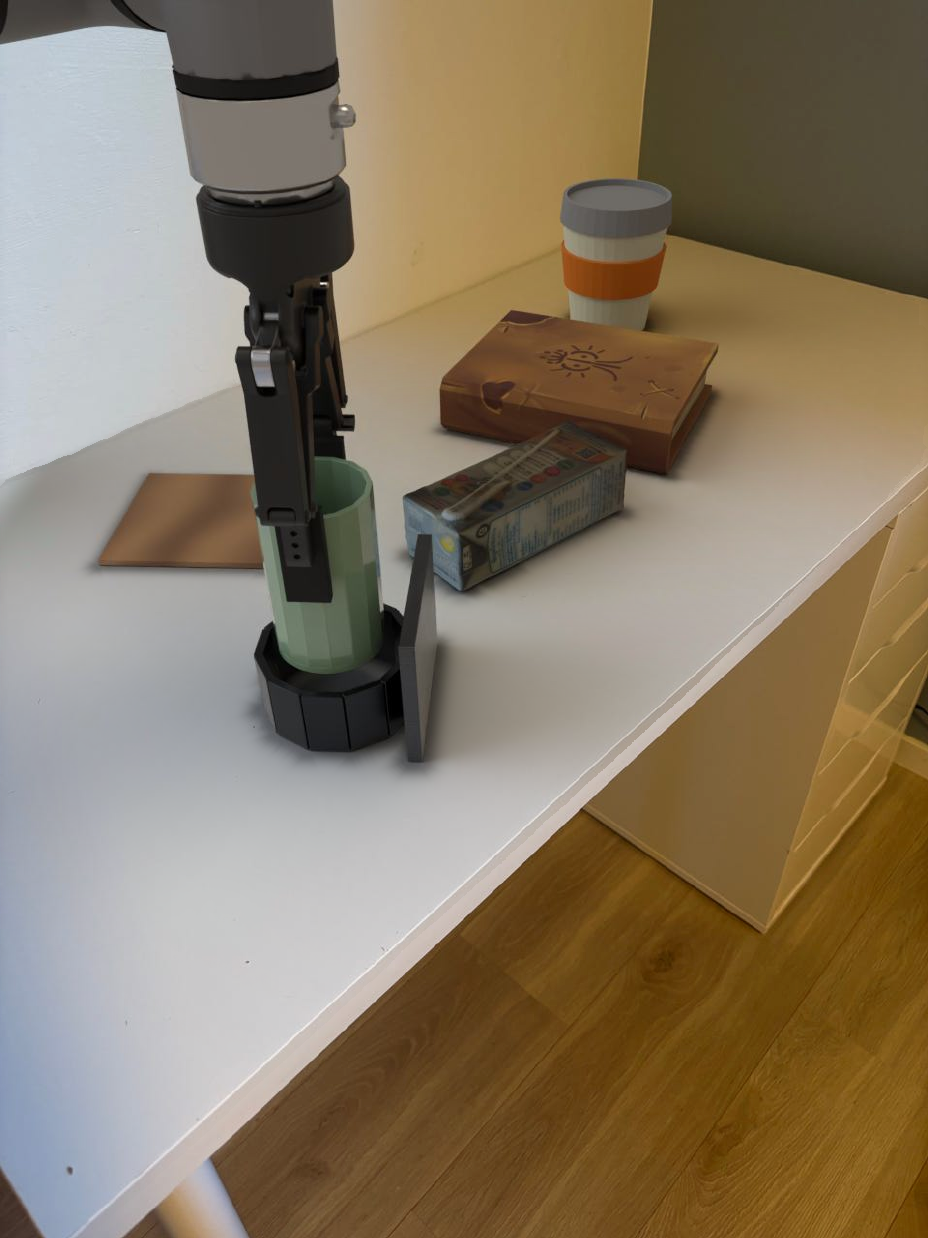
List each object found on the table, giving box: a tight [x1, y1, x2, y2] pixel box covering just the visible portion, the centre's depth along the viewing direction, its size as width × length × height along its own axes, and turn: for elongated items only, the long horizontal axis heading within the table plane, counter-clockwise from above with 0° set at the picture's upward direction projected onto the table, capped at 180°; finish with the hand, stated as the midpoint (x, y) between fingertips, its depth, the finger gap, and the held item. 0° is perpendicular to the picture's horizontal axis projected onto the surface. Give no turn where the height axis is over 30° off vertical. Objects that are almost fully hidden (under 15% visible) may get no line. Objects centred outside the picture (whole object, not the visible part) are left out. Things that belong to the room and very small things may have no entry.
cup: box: [250, 456, 385, 675], centre depth 63 cm, size 7×7×12 cm
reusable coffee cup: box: [559, 177, 673, 331], centre depth 115 cm, size 13×13×15 cm
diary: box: [439, 309, 720, 475], centre depth 101 cm, size 23×19×6 cm
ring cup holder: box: [253, 534, 438, 763], centre depth 67 cm, size 12×12×10 cm
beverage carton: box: [401, 421, 627, 592], centre depth 84 cm, size 8×19×7 cm, turn 129°
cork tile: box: [97, 472, 264, 569], centre depth 88 cm, size 14×14×1 cm
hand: (321, 559), depth 63 cm, fingers closed on cup, 7 cm apart
